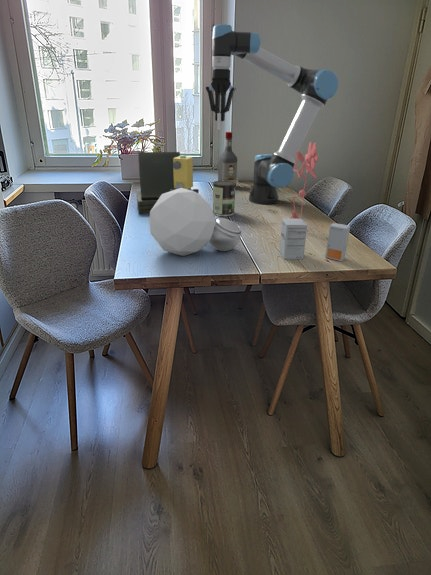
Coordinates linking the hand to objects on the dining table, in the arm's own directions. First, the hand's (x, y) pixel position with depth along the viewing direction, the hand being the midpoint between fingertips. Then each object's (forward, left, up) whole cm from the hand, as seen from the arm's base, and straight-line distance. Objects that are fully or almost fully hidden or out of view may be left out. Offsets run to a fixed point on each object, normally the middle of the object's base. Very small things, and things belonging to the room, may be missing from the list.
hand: (219, 129), depth 188 cm
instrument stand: (+7, +23, -36) cm, 44 cm away
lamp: (-12, +53, -37) cm, 66 cm away
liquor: (+12, -48, -37) cm, 62 cm away
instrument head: (+7, +23, -22) cm, 33 cm away
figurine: (-43, +9, -37) cm, 57 cm away
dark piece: (+26, +6, -37) cm, 46 cm away
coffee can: (-4, +3, -37) cm, 37 cm away
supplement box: (-44, +43, -37) cm, 72 cm away
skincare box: (-59, +39, -37) cm, 80 cm away
